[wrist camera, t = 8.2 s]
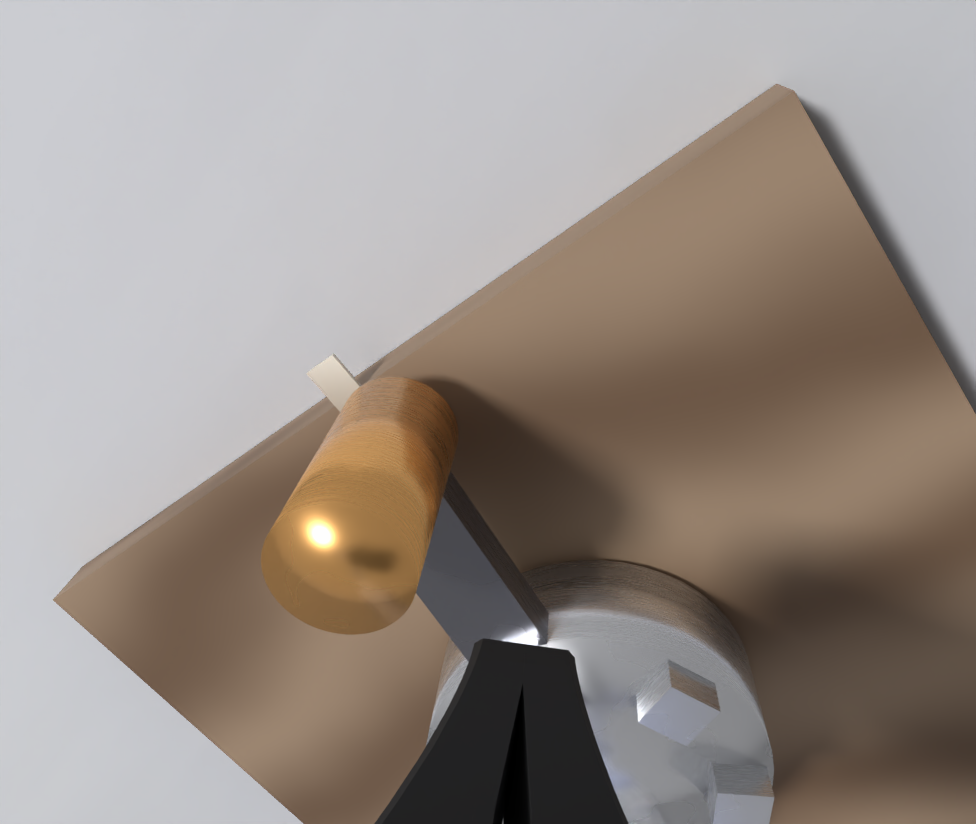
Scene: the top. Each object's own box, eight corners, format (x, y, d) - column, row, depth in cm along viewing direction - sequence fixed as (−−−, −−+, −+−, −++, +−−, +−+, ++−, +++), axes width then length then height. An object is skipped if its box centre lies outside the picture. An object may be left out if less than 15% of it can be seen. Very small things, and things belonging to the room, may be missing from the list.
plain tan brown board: (1136, 717, 22) (1173, 766, 21) (492, 943, 30) (488, 991, 28) (751, 39, 16) (768, 42, 15) (56, 542, 23) (22, 577, 22)
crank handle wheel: (800, 738, 22) (868, 968, 16) (536, 820, 24) (525, 1042, 19) (530, 282, 17) (508, 405, 12) (236, 442, 19) (111, 602, 14)
